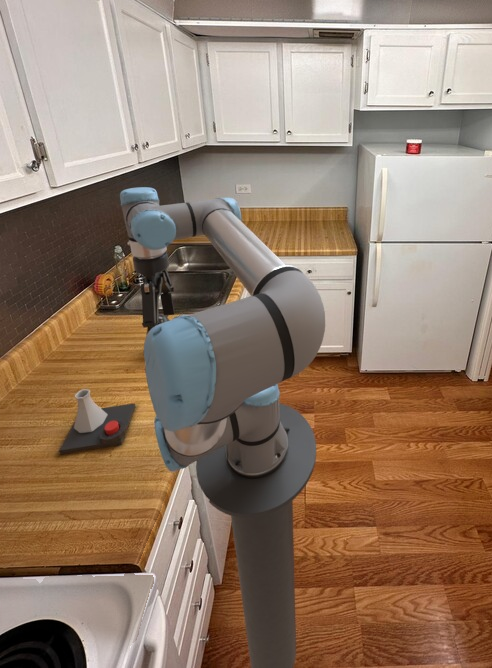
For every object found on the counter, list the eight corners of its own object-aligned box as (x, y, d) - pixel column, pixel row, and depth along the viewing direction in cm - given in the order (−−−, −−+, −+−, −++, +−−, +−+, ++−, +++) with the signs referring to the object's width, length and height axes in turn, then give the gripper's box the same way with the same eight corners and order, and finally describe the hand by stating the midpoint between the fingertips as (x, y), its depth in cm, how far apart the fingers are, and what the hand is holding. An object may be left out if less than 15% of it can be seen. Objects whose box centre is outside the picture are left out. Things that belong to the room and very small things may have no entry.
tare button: (120, 424, 87) (119, 419, 86) (117, 434, 84) (115, 429, 84) (108, 426, 86) (106, 421, 86) (104, 436, 84) (102, 431, 83)
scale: (137, 406, 96) (135, 398, 94) (123, 445, 84) (120, 437, 83) (81, 414, 93) (79, 406, 92) (59, 456, 81) (56, 447, 80)
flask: (92, 436, 85) (82, 407, 81) (68, 431, 86) (57, 402, 83) (113, 413, 92) (105, 385, 88) (90, 408, 93) (81, 381, 89)
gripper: (146, 237, 89) (159, 305, 97) (114, 278, 66) (134, 363, 74) (176, 235, 91) (186, 302, 98) (154, 275, 68) (169, 358, 76)
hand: (164, 328), depth 86 cm, fingers open, 13 cm apart
